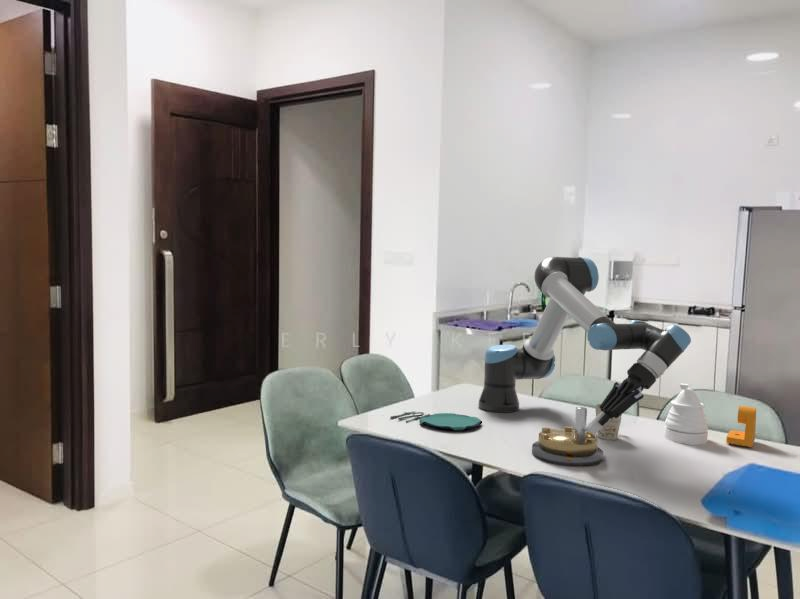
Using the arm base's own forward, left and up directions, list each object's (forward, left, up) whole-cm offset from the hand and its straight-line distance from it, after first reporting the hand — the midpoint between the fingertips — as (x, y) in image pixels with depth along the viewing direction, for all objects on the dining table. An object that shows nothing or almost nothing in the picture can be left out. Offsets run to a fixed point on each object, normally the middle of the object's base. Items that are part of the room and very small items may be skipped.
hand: (590, 431), depth 187 cm
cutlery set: (-53, +19, -10) cm, 58 cm away
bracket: (+39, +47, -9) cm, 62 cm away
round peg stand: (-7, +4, -6) cm, 10 cm away
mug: (+1, +33, -9) cm, 34 cm away
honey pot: (+23, +43, -9) cm, 50 cm away
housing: (-7, +4, -9) cm, 12 cm away
